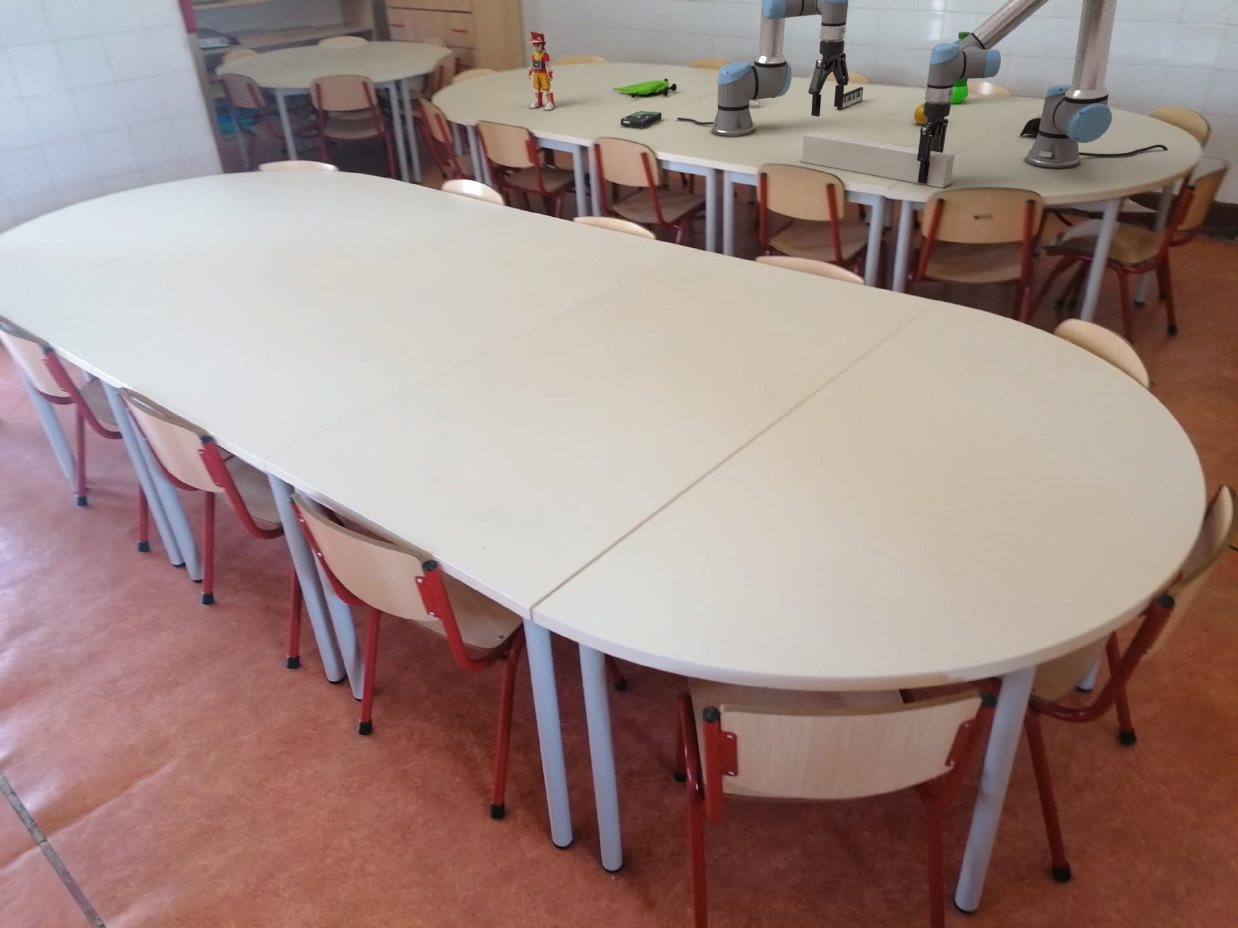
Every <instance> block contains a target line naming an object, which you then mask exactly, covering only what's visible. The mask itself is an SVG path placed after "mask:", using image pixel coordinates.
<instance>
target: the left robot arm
mask: <svg viewBox="0 0 1238 928" xmlns="http://www.w3.org/2000/svg"><path fill="white" fill-rule="evenodd" d="M848 8H849V0H761V8H760V9H761V10H760V26H759V27H760V29H759V44H758V45H759V47H758V54H757V55H756V56H755V57H754V61H753V65H751V63H750V62H749V61H735V62H731V63H727V64H724V65H723V66H722V67H720V68H719V70H718V75H717V82H716V83H717V111H716V114H715V118H714V120H713V121H698V120H697V119H693V118H687V117H677V119H676V120H677V121H686V122H687V121H688V122H691V123H695V124H697V125H701V126H703V125H704V126H705V125H712V133H713V134H715V135H717V136H721V137H741V136H746V135H750V134H752V133H754V127H755V121H753V118H752V115H751V111H750V106H749V101H750V100H753V101H756V100H765V99H776V98H780V97H783V96H784V95H786V94H787V92H788V91H789V89H790V87H791V83H792V77H793V75H792V74H793V73H792V66H791V65H790V63H789V62H788V61H787V60H788V59H787V57H786V56H785V54H784V45H785V44H784V41H785V30H786V29H785V28H786V19H787V18H797V17H807V16H808V17H809V16H816V15H817V16H821V22H820V33H819V34H820V36H819V39H820V41H819V49H818V50H819V52H818V53H819V54H820V55H822V58H821V59H817V60H815V67H814V71H813V74H812V77H811V79H810V80H811V81H810V84H809V88H808V91H807V92H808V94H809V95H812V96H811V97H812V98H811V113H810V114H811V115H810V116H811V117H816V118H819V117H820V116H821V107H822V106H821V105H822V94H821V92H822V90H823V88H824V85H825V83H826V81H827V79H828V77H829V76H830V74H831V73H832V75H833V76H834V79H835V81H836V85H835V87H834V88H835V89H834V100H833V101H834V102H833V107H835V108H837V107H842V106H843V94H845V93H844V92H845V86H848V84H849V81H850V78H849V72H848V66H847V65H848V64H847V61H846V59H847V54H846V52H845V44H846V43H845V42H846V41H845V38H846V32H847V18H848V10H849V9H848Z"/></svg>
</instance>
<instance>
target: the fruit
mask: <svg viewBox="0 0 1238 928" xmlns="http://www.w3.org/2000/svg"><path fill="white" fill-rule="evenodd" d="M923 110H924V103H922V104H920V105H918V106H917V107H916V108H915V110H914V113H913V119H914V121H915V122H916V123H917V124H919V125H922V126H925V125H926V122H927V117H926V116H924V115H923Z"/></svg>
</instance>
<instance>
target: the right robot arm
mask: <svg viewBox="0 0 1238 928" xmlns="http://www.w3.org/2000/svg"><path fill="white" fill-rule="evenodd" d="M1049 1H1050V0H1008V1H1007V2H1005V3H1004V4H1003V5H1002V6H1001V7H999V9H997V10H996V11H995V12H994V13H992V14H991V15H990V16H989V17H988V18H987V19H986V20H984V21H983V22H982V23H981V24H980V25H979V26H978V27H976V28H975V29H974V30H973V31H972V32H970V34H969V35H968V36H967V37H966V38H964V39H961V40H959V39H957V40H954V41H953V42H950V43H948V42H944V43H943V42H942V43H938V44H935V45H934V46H933V47H932V49H931V52H930V53H931V54H930V58H929V66H928V67H929V68H928V75H927V83H926V88H925V95H924V96H925V97H924V101H925V102H924V103H923V104H924V110H923V115H924V116H926V117H927V122H926V125H924V127H920V129H919V134H920V135H919V143H918V148H917V149H918V156H917V161H920V169H919V176H918V183H917V184H919V183H923V184H922V185H925V184H927V179H928V172H929V165H930V162H928V161H929V157H930V153H931V151H935V152H941V153H944V149H945V143H946V135H947V128H948V126H949V125H948V124H949V119H948V118H947V117H949V116H950V113H951V108H952V107H951V106H952V103H950V101H951V100H952V95H953V94H954V91H953V86H954V81H955V79H968V80H971V79H973V80H975V79H988V78H995V77H996V76H997V75H998V73H999V72H1000V68H1001V64H1002V63H1001V62H1002V57H1001V56H1002V55H1001V52H1000V51H999V50H998V49H993V48H994V47H995V46H996V45H998V44H999V43H1000V42H1001V41H1003V39H1005V38H1006V37H1007V36H1008V35H1009V34H1010V33H1012V32H1013V31H1015V30H1016V29H1017V28H1018V27H1019V26H1020V25H1022V24H1023V23H1024V22H1025V21H1026V20H1027V19H1029V18H1031V16H1032V15H1033V14H1035V13H1036V12H1038V10H1040V9H1041V8H1042V7H1043V6H1045V4H1047V3H1048V2H1049ZM1117 3H1118V0H1082V5H1081V13H1080V19H1079V28H1078V33H1077V34H1078V36H1077V43H1076V50H1075V58H1074V65H1073V73H1072V81H1071V84H1058V85H1051V86H1049V87H1048V88H1047V91H1046V93H1045V96H1044V101H1043V102H1044V103H1043V108H1042V111H1041V114H1042V117H1041V122H1040V127H1039V132H1038V136H1037V138H1035V140H1034V142H1033V144H1032V146H1031V148H1030V150H1028V152H1027V155H1026V162H1027V163H1029V164H1030V165H1032V166H1036V167H1039V168H1040V167H1041V168H1047V169H1049V168H1050V169H1067V168H1071V167H1075V166H1077V165H1078V164H1079V161H1080V156H1082V157H1083V156H1084V157H1085V156H1086V157H1103V158H1106V157H1107V158H1110V157H1113V158H1115V157H1126V156H1131V155H1135V154H1138V153H1141V152H1145V151H1149V150H1153V149H1157V148H1161V149H1162V150H1164V151H1168V150H1169V149H1168V147H1167V146H1166V145H1164V144H1154V145H1150V146H1147V147H1143V148H1138V149H1135V150H1132V151H1128V152H1121V153H1120V152H1119V153H1093V152H1081V151H1080V152H1079V143H1081V144H1087V143H1091V142H1092V143H1093V142H1094V141H1096V140H1099V139H1100V138H1101V137H1102V135H1104V134H1106V133H1107V131H1108V130H1109V128H1110V126H1111V125H1112V122H1113V121H1112V120H1113V114H1112V110H1111V108H1110V107H1109V106H1108V101H1109V95H1110V90H1109V89H1108V88H1107V87H1106V86H1105V83H1106V76H1107V70H1108V63H1109V57H1110V56H1109V55H1110V49H1111V43H1112V36H1113V31H1114V30H1113V29H1114V24H1115V17H1116V10H1117Z"/></svg>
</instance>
